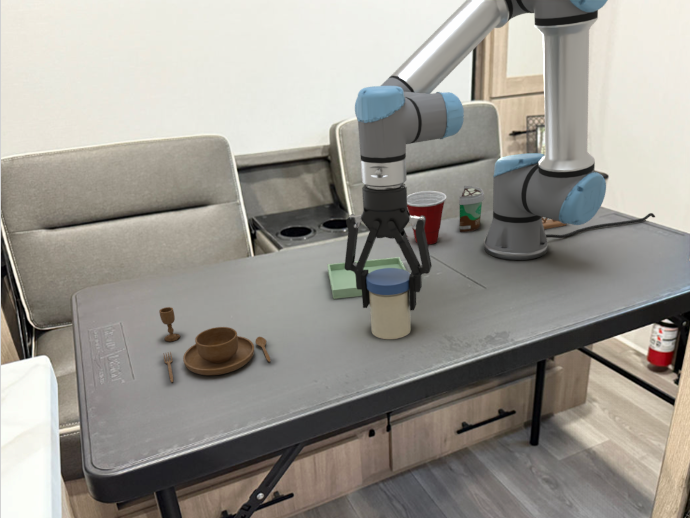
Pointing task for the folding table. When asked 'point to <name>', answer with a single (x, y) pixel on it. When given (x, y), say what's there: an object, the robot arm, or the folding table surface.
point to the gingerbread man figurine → (551, 223)
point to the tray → (346, 280)
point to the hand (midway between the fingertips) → (389, 305)
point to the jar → (390, 315)
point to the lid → (388, 281)
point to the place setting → (213, 349)
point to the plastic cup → (427, 211)
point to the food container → (470, 208)
